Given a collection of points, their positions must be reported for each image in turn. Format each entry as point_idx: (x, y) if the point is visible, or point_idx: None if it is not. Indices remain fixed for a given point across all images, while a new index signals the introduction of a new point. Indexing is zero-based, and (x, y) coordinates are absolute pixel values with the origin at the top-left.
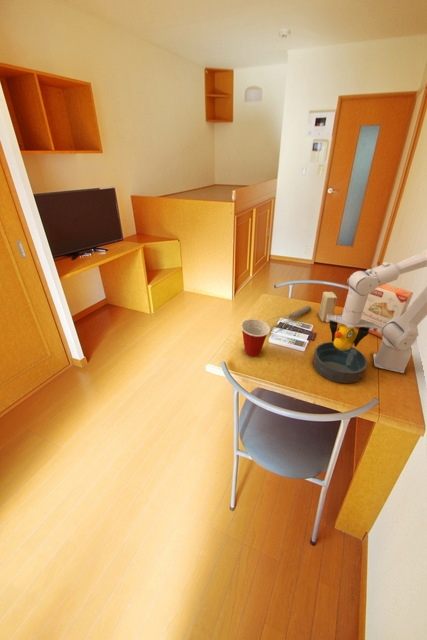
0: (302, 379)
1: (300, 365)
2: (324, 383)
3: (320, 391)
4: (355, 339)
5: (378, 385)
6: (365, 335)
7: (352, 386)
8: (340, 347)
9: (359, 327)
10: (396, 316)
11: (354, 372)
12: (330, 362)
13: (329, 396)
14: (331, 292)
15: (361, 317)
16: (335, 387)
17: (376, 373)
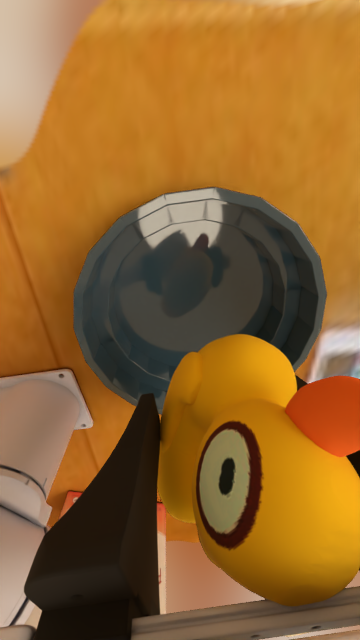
0: (337, 126)
1: (341, 234)
2: (232, 155)
3: (246, 67)
4: (158, 444)
5: (24, 271)
6: (66, 519)
7: (113, 205)
8: (237, 337)
9: (154, 582)
10: (35, 627)
11: (112, 228)
12: (222, 313)
13: (198, 46)
14: (291, 635)
15: (162, 551)
16: (180, 152)
17: (55, 338)
